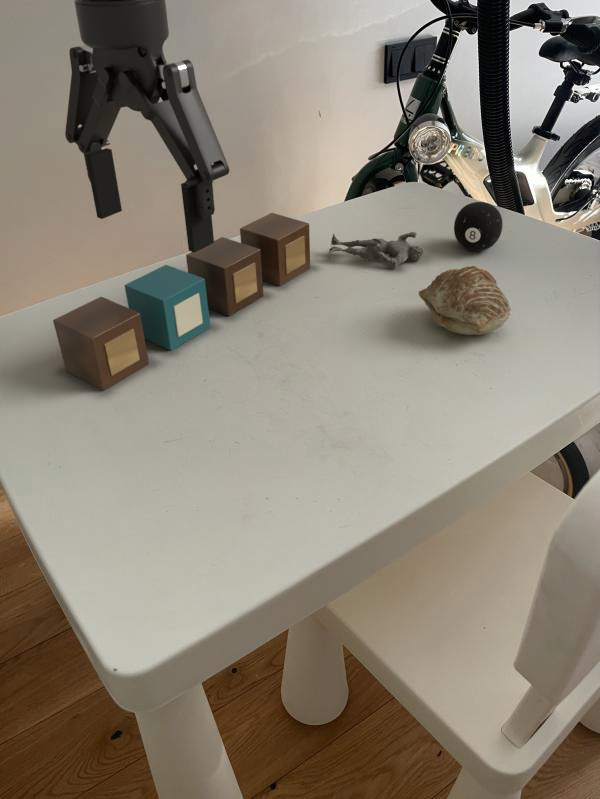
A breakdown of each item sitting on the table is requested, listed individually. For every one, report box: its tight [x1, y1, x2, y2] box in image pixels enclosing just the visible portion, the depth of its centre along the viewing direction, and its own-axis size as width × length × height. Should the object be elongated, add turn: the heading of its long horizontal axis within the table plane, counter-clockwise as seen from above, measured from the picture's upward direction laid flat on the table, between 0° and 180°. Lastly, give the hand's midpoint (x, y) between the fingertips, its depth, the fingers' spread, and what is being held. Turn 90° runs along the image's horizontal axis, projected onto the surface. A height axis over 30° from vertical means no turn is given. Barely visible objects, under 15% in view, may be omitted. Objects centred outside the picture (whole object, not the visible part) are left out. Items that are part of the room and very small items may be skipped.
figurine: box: [327, 231, 425, 269], centre depth 93 cm, size 6×4×12 cm
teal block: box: [124, 264, 211, 351], centre depth 79 cm, size 6×6×6 cm
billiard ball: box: [453, 201, 504, 252], centre depth 94 cm, size 6×6×6 cm
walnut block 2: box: [185, 236, 264, 317], centre depth 85 cm, size 6×6×6 cm
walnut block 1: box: [52, 296, 150, 391], centre depth 74 cm, size 6×6×6 cm
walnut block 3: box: [239, 212, 311, 287], centre depth 90 cm, size 6×6×6 cm
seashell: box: [418, 265, 511, 336], centre depth 78 cm, size 9×7×8 cm
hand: (153, 230), depth 74 cm, fingers open, 13 cm apart
